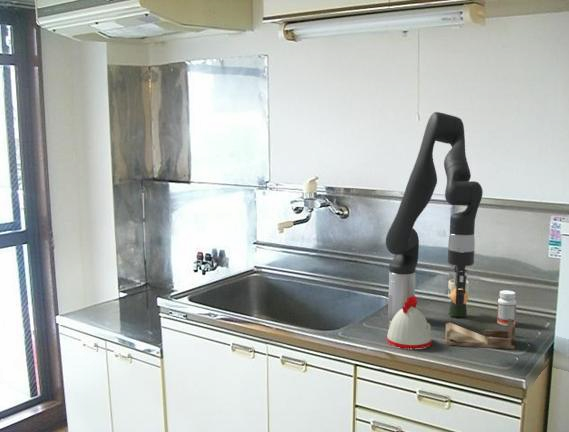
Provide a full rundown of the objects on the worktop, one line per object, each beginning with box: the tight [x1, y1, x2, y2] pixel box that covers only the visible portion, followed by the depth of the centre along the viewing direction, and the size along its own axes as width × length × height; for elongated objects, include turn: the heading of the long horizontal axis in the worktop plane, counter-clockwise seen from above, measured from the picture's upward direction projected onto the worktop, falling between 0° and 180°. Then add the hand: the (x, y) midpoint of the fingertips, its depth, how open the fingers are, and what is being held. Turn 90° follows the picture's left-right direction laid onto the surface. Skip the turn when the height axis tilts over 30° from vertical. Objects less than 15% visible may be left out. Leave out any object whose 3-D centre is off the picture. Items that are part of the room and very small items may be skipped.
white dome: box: [386, 295, 432, 349], centre depth 200 cm, size 14×14×15 cm
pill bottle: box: [496, 289, 517, 327], centre depth 218 cm, size 6×6×11 cm
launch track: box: [445, 319, 516, 350], centre depth 200 cm, size 20×9×9 cm, turn 78°
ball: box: [451, 288, 469, 304], centre depth 189 cm, size 5×5×5 cm
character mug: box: [447, 278, 470, 318], centre depth 227 cm, size 11×7×13 cm, turn 151°
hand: (459, 303), depth 189 cm, fingers closed on ball, 5 cm apart
